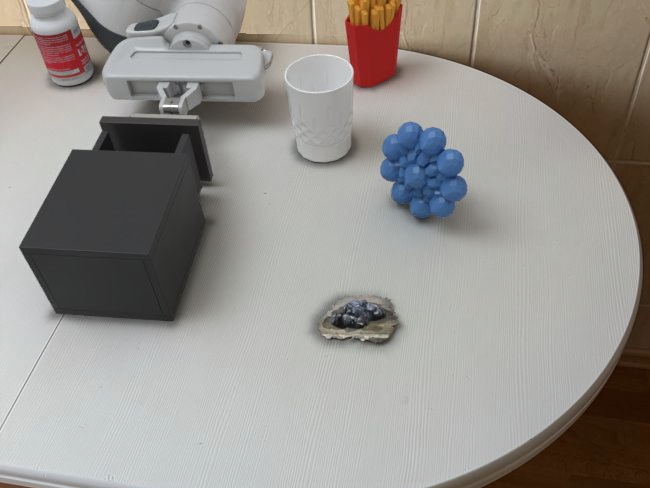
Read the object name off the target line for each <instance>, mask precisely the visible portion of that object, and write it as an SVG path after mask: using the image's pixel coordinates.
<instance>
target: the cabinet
mask: <svg viewBox="0 0 650 488" xmlns="http://www.w3.org/2000/svg"><path fill="white" fill-rule="evenodd" d="M206 223H207V222H206V219H205V214H204V210H203V207H202V203H201V199H200V194H199V195H198V191H197V187H196V183H195V179H194V176H193V172H192V168H191V164H190V160H189V156H188V154H182V153H156V152H130V151H105V150H92V149H80V148H79V149H78V148H77V149H74V148H72V149H71V151H70V153H69V154H68V157H67V158H66V160H65V162H64V163H63V166H62V167H61V169H60V171H59V172H58V175H57V176H56V177H55V180H54V182H53V184H52V186H51V187H50V189H49V191H48V193H47V195H46V196H45V198H44V200H43V202H42V204H41V206H40V207H39V210H38V211H37V214H36V215H35V216H34V218H33V220H32V222H31V224H30V226H29V227H28V229H27V231H26V233H25V234H24V236H23V238H22V240H21V242H20V243H19V246H18V249H19V250H20V252H21V254H22V256H23V257H24V260H25V261H26V263H27V265H28V267H29V268H30V270H31V272H32V274H33V275H34V277H35V280H37V282H38V284H39V286H40V288H41V289H42V291H43V293H44V295H45V296H46V298H47V300H48V302H49V303H50V306H51V308H52V309H53V310H54V312H55V314H59V315H60V314H61V315H74V316H75V315H76V316H91V317H104V318H106V317H108V318H119V319H120V318H121V319H136V320H151V321H152V320H153V321H165V322H166V321H167V322H174V319H175V316H176V313H177V310H178V307H179V305H180V301H181V297H182V295H183V293H184V289H185V287H186V283H187V280H188V277H189V274H190V271H191V268H192V265H193V263H194V260H195V256H196V253H197V250H198V247H199V244H200V241H201V238H202V235H203V232H204V229H205V226H206Z"/></svg>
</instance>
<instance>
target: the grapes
mask: <svg viewBox="0 0 650 488" xmlns="http://www.w3.org/2000/svg"><path fill="white" fill-rule="evenodd" d="M446 146H447V135H446V133H445V131H443V130H442V129H441V128H438V127H434V126H431V127H427V128H425V129H423V127H422V126H421V125H420V124H419V123H418V122H414V121H407V122H404V123H402V124H401V125H400V126H399V128H398V130H397V132H396V133H392V134H388V135H387V136H386V138H384V139H383V142H382V145H381V152H382V154H383V156H384V157H385V158H384V159H383V160H382V161H381V164H380V168H379V169H380V171H379V172H380V176H381V178H382V179H383V180H385V181H386V182H390V183H393V184H392V186H391V189H390V197H391V198H392V200H393V201H394V202H396V203H397V204H399V205H400V204H401V205H406V204H409V211H410V213H411V214H412V215H413V216H414V217H416V218H419V219H425V218H429V217H430V216H431V215H433V216H435V217H436V218H440V219H443V218H448V217H450V216H451V215H452V214H453V213H454V211H455V209H456V203H457V202H461V200H463V199H464V198H465V197H466V195H467V192H468V184H467V181H466V180H465V178H464V177H463V176H461V175H459V174H461V172H462V171H463V169H464V167H465V158H464V156H463V153H462V152H460V151H459V150H458V149H454V148H447V149H446Z"/></svg>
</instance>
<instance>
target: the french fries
mask: <svg viewBox="0 0 650 488" xmlns="http://www.w3.org/2000/svg"><path fill="white" fill-rule="evenodd" d="M346 2H347V10H348V15H347V16H346V18H345V20H344V25H345V32H346V41H347V49H348V51H347V52H348V58H349V63H350V64H351V65H352V67H353V70H354V81H353V84H355V85H357V86H358V87H359V88H372V87H374V86H377V85H379V84H381V83H383V82H385V81H387V80H389V79H391V78H393V77H394V76H395V74H396V71H397V64H398V55H399V44H400V35H401V25H402V16H403V7H404V5H403V3H402V0H347V1H346Z"/></svg>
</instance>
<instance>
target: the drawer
mask: <svg viewBox="0 0 650 488" xmlns="http://www.w3.org/2000/svg"><path fill="white" fill-rule="evenodd" d="M98 123H99V126H100V129H101V132H100V133H99V136H98V138H97V140H96V141H95V143H94V145H93V146H92V149H91V150H105V151H130V152H156V153H182V154H188V156H189V160H190V164H191V168H192V172H193V176H194V179H195V183H196V187H197V191H198V195H199V196H200V194H201V192H202V189H203V185H202V182H209V183H210V182H212V180H213V178H214V173H213V169H212V168H213V167H212V164H211V159H210V156H209V149H208V147H207V141H206V139H205V134H204V129H203V124H202V121H201V118H200V116H199V115H196V114H195V115H192V114H187V115H166V114H160V113H136V112H135V113H134V112H133V113H131V114H130V116H115V115H114V116H112V115H102V116H101V118H100V119H99V121H98Z"/></svg>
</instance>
